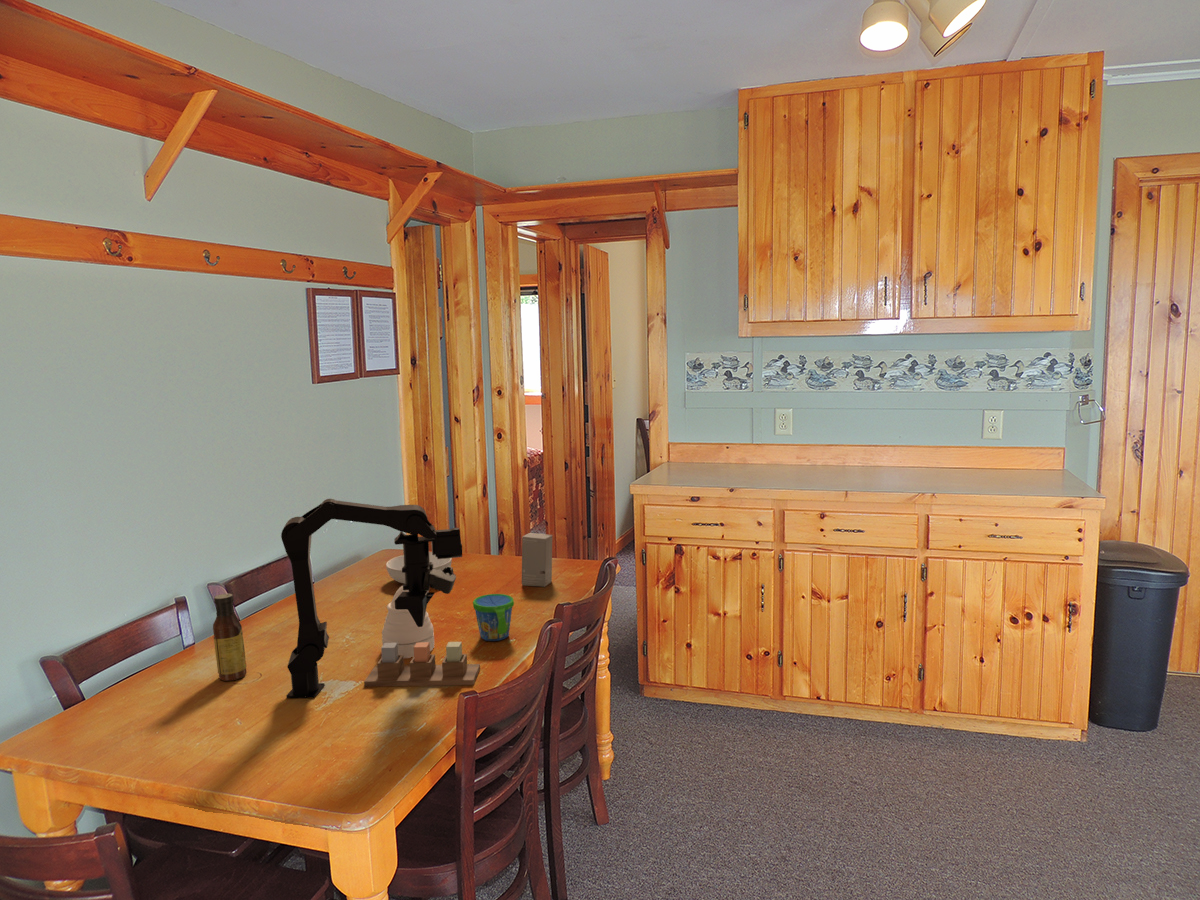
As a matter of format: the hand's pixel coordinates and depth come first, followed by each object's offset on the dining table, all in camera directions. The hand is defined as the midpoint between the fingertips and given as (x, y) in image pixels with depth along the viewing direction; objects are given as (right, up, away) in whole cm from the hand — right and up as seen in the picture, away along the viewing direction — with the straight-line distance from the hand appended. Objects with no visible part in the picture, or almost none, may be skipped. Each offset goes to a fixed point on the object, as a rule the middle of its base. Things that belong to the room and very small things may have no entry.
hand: (420, 626), depth 187 cm
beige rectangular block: (+8, -9, +1) cm, 12 cm away
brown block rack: (0, -12, +2) cm, 12 cm away
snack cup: (+14, -9, +26) cm, 31 cm away
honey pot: (-7, -10, +20) cm, 23 cm away
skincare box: (+22, -2, +72) cm, 75 cm away
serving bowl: (-17, -2, +77) cm, 79 cm away
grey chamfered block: (-7, -9, +1) cm, 12 cm away
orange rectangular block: (0, -9, +1) cm, 9 cm away
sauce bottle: (-46, -13, +5) cm, 48 cm away
